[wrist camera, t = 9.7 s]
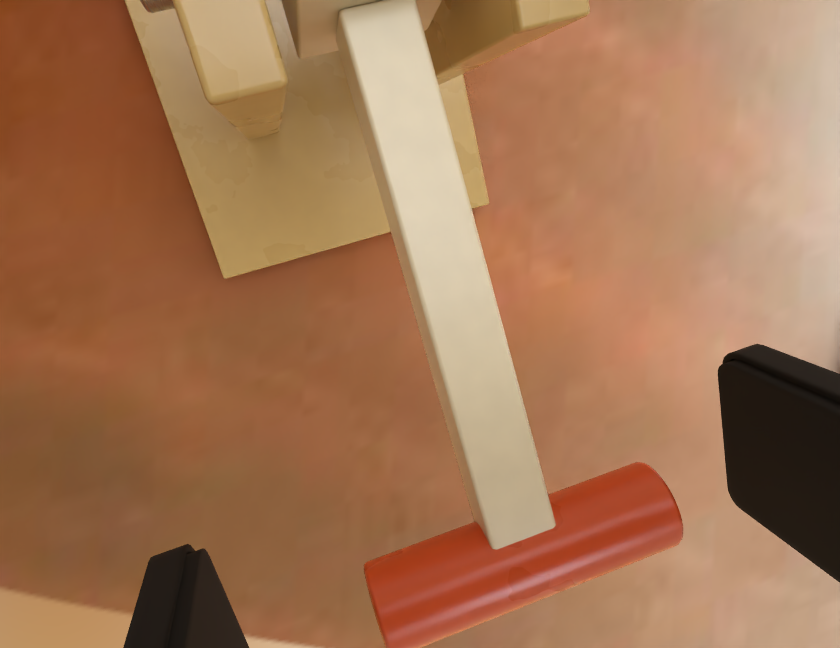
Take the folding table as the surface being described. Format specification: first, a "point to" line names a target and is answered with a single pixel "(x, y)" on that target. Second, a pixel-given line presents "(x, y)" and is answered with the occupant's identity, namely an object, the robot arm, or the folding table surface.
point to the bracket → (302, 117)
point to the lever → (467, 361)
